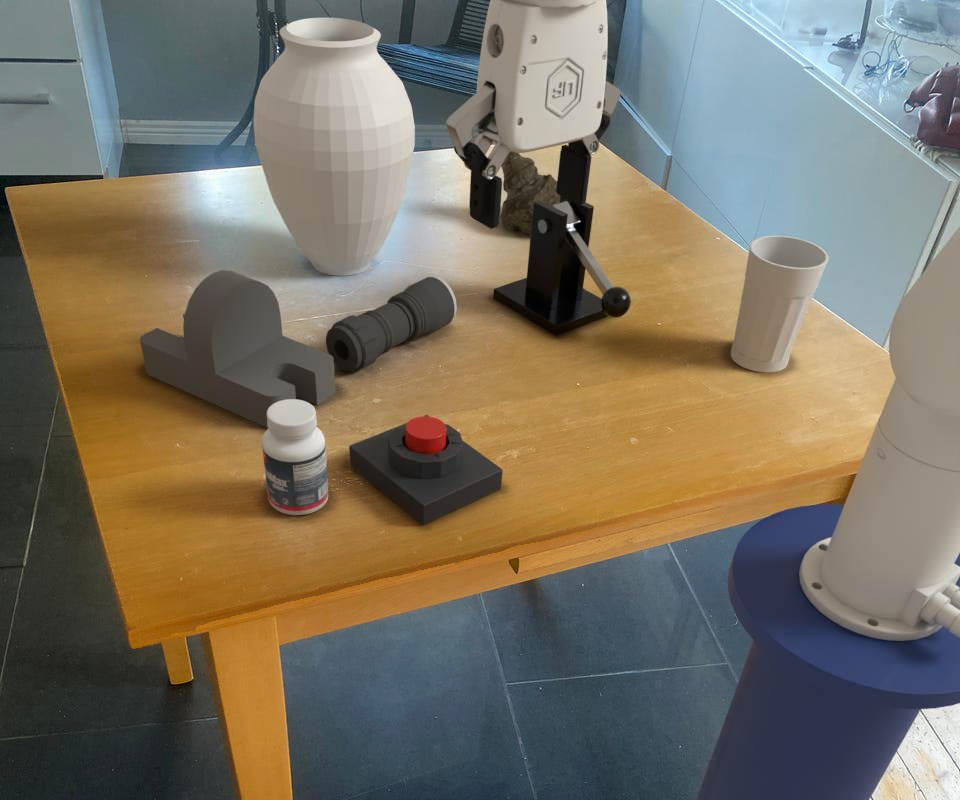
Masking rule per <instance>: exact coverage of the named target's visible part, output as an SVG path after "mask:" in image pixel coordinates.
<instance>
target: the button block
mask: <svg viewBox="0 0 960 800" xmlns="http://www.w3.org/2000/svg"><path fill="white" fill-rule="evenodd" d="M424 416H427V417H430V416H429V415H428V414H426V415H424ZM407 423H408V422H406V423H403V424H400V425H398V426H395V427H393V428H391V429H388V430H385V431H382V432H381V433H378V434H375V435H373V436H370V437H367V438H365V439H363V440H360V441H358V442H355V443H353V444H351V445H349V446H348V449H349V466H350V467H351V468H353V470H355V471H356V472H357V473H358V474H360V475H361V476H362V477H364V478H365V480H367V481H368V482H370V483H371V484H372V485H373V486H374V487H376V488H377V489H378V490H379V491H381V492H382V493H383V494H384V495H385V496H387V497H388V498H389V499H390V500H391V501H392V502H394V503H395V505H397V506H399V507H400V508H401V509H403V511H405V512H406V513H407V514H408V515H410V516H411V517H412V518H414V519H415V520H416V522H418V523H419V524H421V526H426V525H428V524H429V523H432V522H434V521H436V520H438V519H441V518H442V517H445V516H446V515H447V516H448V514H451V513H454V512H455V511H457V510H460V509H462V508H464V507H467V506H468V505H470V504H472V503H474V502H476V501H479V500H481V499H483V498H485V497H487V496H489V495H492V494H494V493H496V492H498V491H500V490H501V489H502V484H503V483H502V481H503V471H504V469H503V468H501V467H500V466H498V464H496V463H495V462H493V461H492V460H490V459H489V458H487V457H486V456H485V455H483V454H482V453H481V452H479V451H478V450H477V449H475V448H474V447H473V446H471V445H470V444H468V443H467V442H466V441H464V440H463V438H462V435H461V433H460V431H458V430H457V429H455V428H454V427H453V426H451V425H450V424H447V423H444V424H445V425H446V446H445V448H444V449H443V450H442V451H440V452H438V453H436V454H420V453H416V452H412V451H410V450H409V449H408V448H407V447H406V444H405V427H406V424H407Z"/></svg>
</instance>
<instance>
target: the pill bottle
mask: <svg viewBox="0 0 960 800" xmlns="http://www.w3.org/2000/svg"><path fill="white" fill-rule="evenodd" d="M317 425H318V418H317V411H316V408H315V407H314V405H313V404H312V403H311V402H308V401H306V400H304V399H298V398H296V399H287V400H282V401H278V402H276V403H274V404H272V405H271V406H270V407H269V408H268V410H267V426H268V428H267V429H266V431H265V432H264V433H263V435H262V438H261V448H262V449H261V450H262V457H263V465H264V473H265V482H266V483H265V484H266V491H267V499H268V502H269V504H270V505H271V507H272V508H273V509H275V511H277V512H280V513H282V514H285V515H288V516H305V515H306V516H307V515H309V514H312V513H315V512H317V511H319V510H320V509H322V508H323V507H324V506H325V505H326V503H327V502H328V499H329V482H328V478H329V477H328V466H327V465H328V464H327V450H326V446H327V445H326V437H325V435H324V434H323V433H324V432H323V431H322V430H321V429H320V428H319V427H318V426H317Z"/></svg>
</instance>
